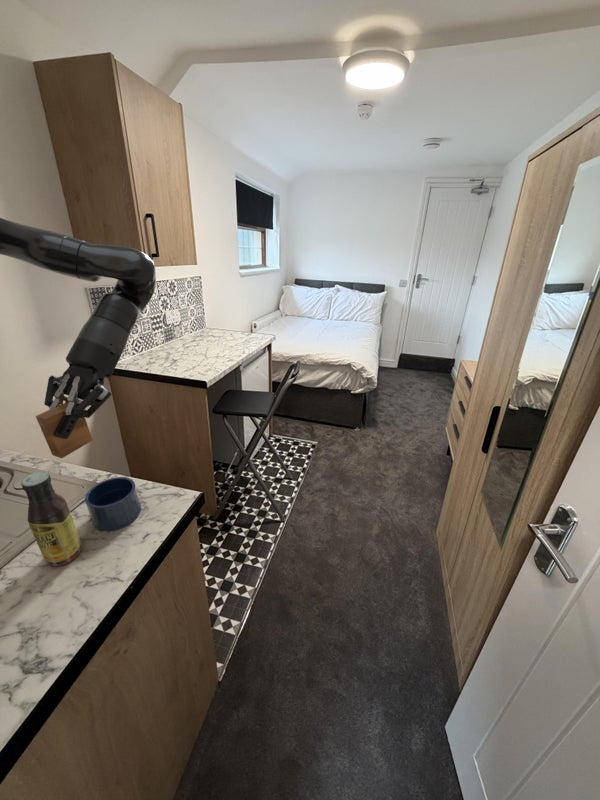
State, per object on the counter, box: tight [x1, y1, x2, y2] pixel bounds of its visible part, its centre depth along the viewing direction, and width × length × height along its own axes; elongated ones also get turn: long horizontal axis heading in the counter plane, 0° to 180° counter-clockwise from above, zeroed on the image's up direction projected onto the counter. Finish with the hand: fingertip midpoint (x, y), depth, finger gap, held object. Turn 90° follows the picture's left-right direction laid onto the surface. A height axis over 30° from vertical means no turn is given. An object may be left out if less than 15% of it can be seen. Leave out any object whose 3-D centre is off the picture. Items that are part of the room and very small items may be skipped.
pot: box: [84, 476, 142, 532], centre depth 75 cm, size 10×10×7 cm
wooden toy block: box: [35, 402, 94, 459], centre depth 57 cm, size 2×6×8 cm, turn 158°
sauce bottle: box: [20, 471, 82, 567], centre depth 62 cm, size 6×6×20 cm
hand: (54, 435), depth 55 cm, fingers closed on wooden toy block, 2 cm apart
